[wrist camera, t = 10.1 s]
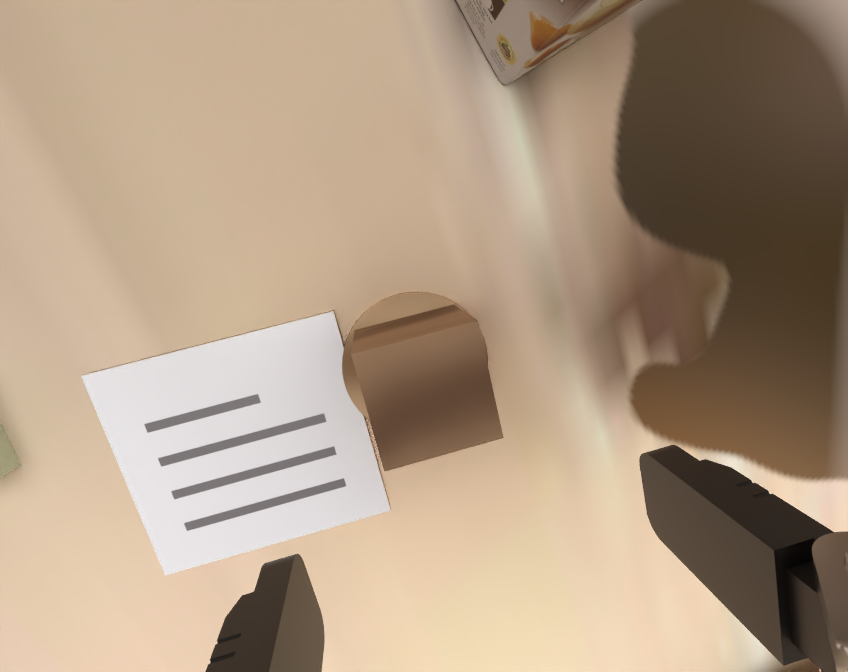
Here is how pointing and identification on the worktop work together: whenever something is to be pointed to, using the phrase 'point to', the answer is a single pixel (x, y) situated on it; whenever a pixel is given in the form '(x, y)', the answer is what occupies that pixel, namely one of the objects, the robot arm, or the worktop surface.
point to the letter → (240, 442)
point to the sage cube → (6, 454)
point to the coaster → (382, 313)
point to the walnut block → (425, 385)
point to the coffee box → (533, 29)
